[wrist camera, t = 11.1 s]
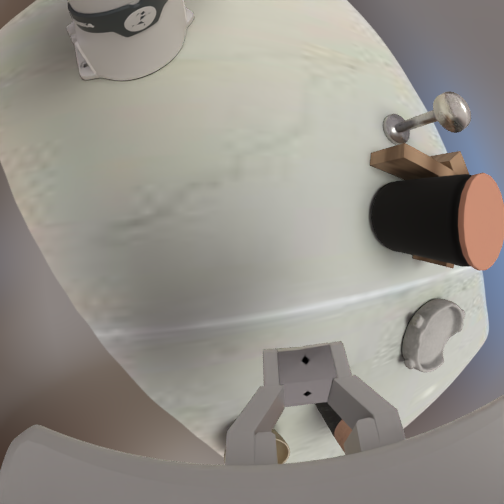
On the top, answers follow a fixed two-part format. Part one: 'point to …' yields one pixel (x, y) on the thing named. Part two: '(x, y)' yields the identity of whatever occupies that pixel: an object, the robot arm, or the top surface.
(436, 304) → the dish
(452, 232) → the coffee jar
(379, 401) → the robot arm
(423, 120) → the metal ball stand
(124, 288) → the top surface
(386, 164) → the wooden l-shaped bracket
